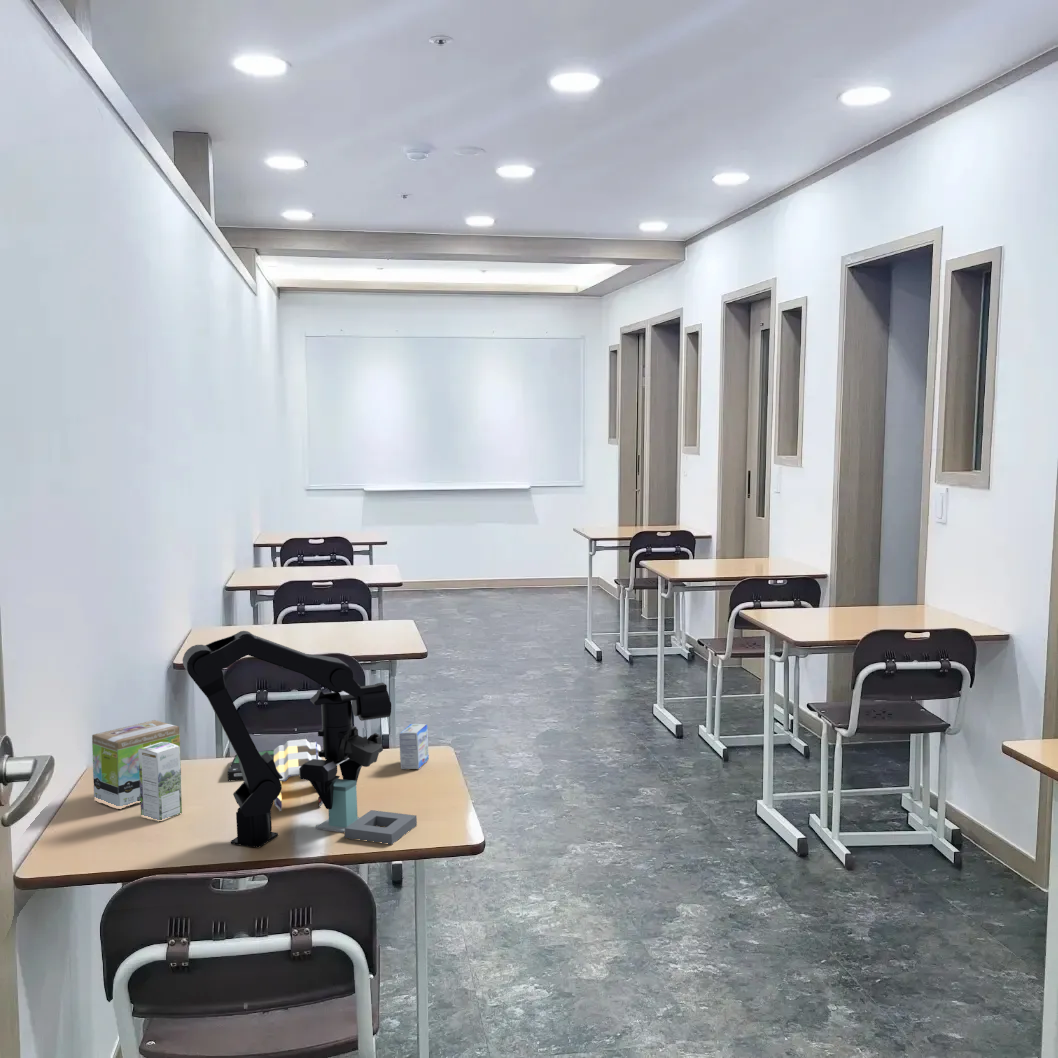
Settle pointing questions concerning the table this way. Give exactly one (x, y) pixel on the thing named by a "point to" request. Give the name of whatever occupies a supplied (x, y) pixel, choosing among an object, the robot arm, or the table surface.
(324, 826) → the pad
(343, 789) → the plug
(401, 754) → the medicine box
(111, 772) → the tea box
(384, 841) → the socket
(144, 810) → the syrup box
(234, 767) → the disk drive
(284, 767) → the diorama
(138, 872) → the table surface
